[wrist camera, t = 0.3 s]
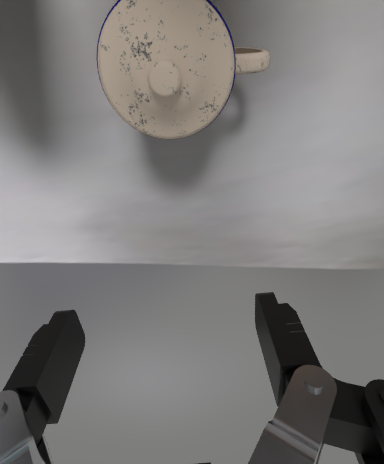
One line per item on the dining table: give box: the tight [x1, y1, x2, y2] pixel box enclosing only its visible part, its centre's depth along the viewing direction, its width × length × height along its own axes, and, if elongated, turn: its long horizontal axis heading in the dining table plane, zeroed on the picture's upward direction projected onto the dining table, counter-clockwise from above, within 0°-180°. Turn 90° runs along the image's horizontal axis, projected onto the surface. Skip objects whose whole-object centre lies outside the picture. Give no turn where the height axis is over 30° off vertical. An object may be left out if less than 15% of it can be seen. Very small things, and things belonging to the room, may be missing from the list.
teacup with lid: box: [97, 0, 270, 139], centre depth 22 cm, size 12×9×12 cm
